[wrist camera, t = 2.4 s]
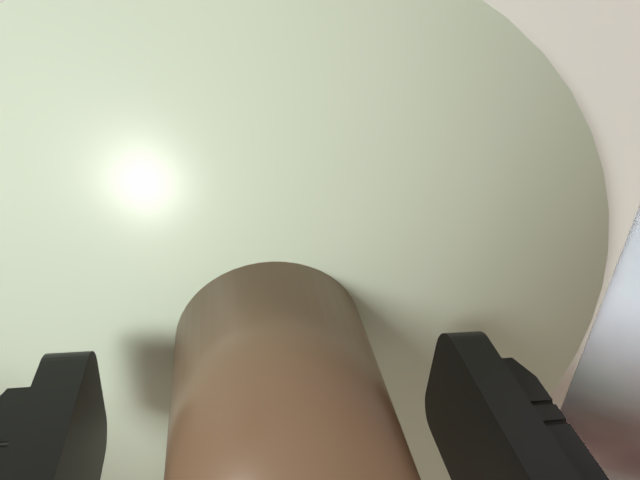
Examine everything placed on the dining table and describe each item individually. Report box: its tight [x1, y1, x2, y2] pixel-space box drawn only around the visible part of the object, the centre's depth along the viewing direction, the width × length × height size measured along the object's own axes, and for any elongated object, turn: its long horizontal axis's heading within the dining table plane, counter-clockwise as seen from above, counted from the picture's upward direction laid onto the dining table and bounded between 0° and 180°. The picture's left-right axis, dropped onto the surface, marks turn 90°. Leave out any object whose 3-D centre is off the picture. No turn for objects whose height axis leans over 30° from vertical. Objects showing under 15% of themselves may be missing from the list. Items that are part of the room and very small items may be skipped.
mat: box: [0, 0, 640, 410], centre depth 12 cm, size 16×16×1 cm
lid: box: [0, 0, 609, 480], centre depth 9 cm, size 14×14×6 cm
